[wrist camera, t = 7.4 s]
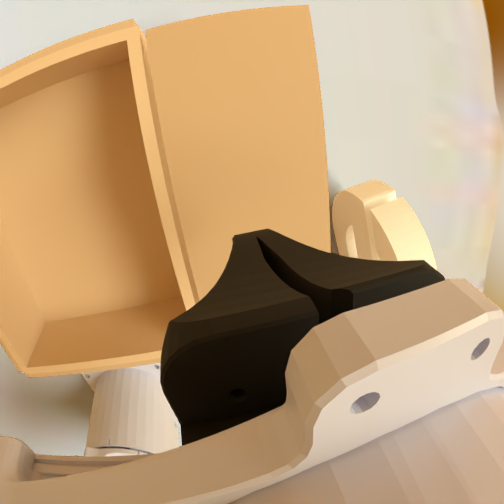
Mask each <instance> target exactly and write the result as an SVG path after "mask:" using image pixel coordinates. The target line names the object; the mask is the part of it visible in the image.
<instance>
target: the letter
mask: <svg viewBox="0 0 504 504" xmlns="http://www.w3.org/2000/svg"><path fill="white" fill-rule="evenodd" d="M332 223H333V229H334V233H335V238H336V243H337V247H338V252H339V255H341V256H346V257H352V258H359V259H367V260H380V261H410V260H425V261H426V262H427V263H428V264H429V265H431V266H432V267H433V268H434V269H436V270H437V267H436V263H435V259H434V255H433V252H432V249H431V246H430V243H429V241H428V238H427V236H426V234H425V231H424V229H423V227H422V225H421V223H420V222H419V220H418V218H417V216H416V215H415V213H414V212H413V210H412V209H411V207H410V206H409V204H408V203H407V202H406V201H405V199H404V198H403V197H400V198H398V199H396V193H395V190H394V189H393V188H392V187H390V186H389V185H387V184H385V183H383V182H381V181H378V180H371V181H368V182H365V183H362V184H359V185H356V186H354V187H351V188H348V189H345V190H343V191H340V192H338V193H337V194H336V196H335V198H334V200H333V205H332Z"/></svg>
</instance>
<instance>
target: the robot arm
mask: <svg viewBox="0 0 504 504" xmlns="http://www.w3.org/2000/svg"><path fill="white" fill-rule="evenodd" d="M232 242H233V245H232V250H231V253H230V257H229V260H228V262H227V264H226V266H225V269H224V271H223V273H222V275H221V276H220V278H219V280H218V281H217V283H216V284H215V285H214V287H213V288H212V289H211V290H210V291H209V292H208V294H207V295H206V296H205V297H203V298H202V299H201V300H200V301H199V302H198V303H196V304H195V305H194V306H193V307H191V308H190V309H189V310H187V311H185V312H184V313H182V314H181V315H179V316H177V317H176V318H174V319H172V320H171V321H170V322H169V324H168V327H167V330H166V334H165V338H164V342H163V347H162V352H161V362H160V363H155V364H148V365H142V366H135V367H128V368H121V369H114V370H106V371H98V372H89V373H81V374H82V376H83V377H84V379H85V380H86V382H87V383H88V385H89V386H90V388H91V389H92V391H93V392H94V398H93V404H92V410H91V415H90V422H89V428H88V435H87V442H86V448H85V453H84V456H77V455H75V456H53V455H38V454H34V452H33V451H32V450H31V449H30V448H29V447H28V446H27V445H26V444H25V443H23V442H22V441H20V440H18V439H16V438H12V437H3V436H0V504H504V313H503V311H502V310H501V309H500V308H499V307H498V306H497V305H496V304H495V303H493V302H492V301H491V300H490V299H488V298H487V297H486V296H485V295H484V294H483V293H482V292H480V291H479V290H478V289H477V288H475V287H474V286H473V285H472V284H471V283H469V282H468V281H467V280H466V279H447V280H445V278H444V276H443V275H442V274H440V273H439V272H438V271H437V270H436V269H434V268H433V267H432V266H431V265H429V264H428V263H427V262H426V261H425V260H410V261H380V260H367V259H359V258H352V257H346V256H341V255H337V254H333V253H329V252H325V251H322V250H319V249H316V248H313V247H310V246H307V245H305V244H302V243H300V242H297V241H295V240H293V239H291V238H288V237H286V236H284V235H282V234H280V233H278V232H275V231H273V230H271V229H263V230H258V231H252V232H247V233H243V234H238V235H234V237H233V238H232ZM155 365H158V366H155ZM178 421H179V423H180V424H181V436H182V446H180V447H179V432H178Z"/></svg>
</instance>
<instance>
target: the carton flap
mask: <svg viewBox="0 0 504 504" xmlns="http://www.w3.org/2000/svg"><path fill="white" fill-rule="evenodd" d="M145 32H146V39H147V47H148V54H149V61H150V67H151V74H152V80H153V87H154V93H155V99H156V105H157V110H158V116H159V122H160V127H161V133H162V138H163V143H164V148H165V153H166V159H167V164H168V168H169V173H170V178H171V183H172V188H173V192H174V197H175V201H176V206H177V210H178V215H179V219H180V224H181V228H182V232H183V236H184V241H185V245H186V249H187V253H188V257H189V261H190V265H191V269H192V273H193V277H194V281H195V285H196V288H197V292H198V296H199V300H201V299H202V298H203V297H205V296H206V295H207V294H208V292H209V291H210V290H211V289H212V288H213V287H214V285H215V284H216V283H217V281H218V280H219V278H220V276H221V275H222V273H223V271H224V269H225V266H226V264H227V262H228V260H229V257H230V253H231V250H232V245H233V242H232V238H233V237H234V235H238V234H243V233H247V232H252V231H258V230H263V229H271V230H273V231H275V232H278V233H280V234H282V235H284V236H286V237H288V238H291V239H293V240H295V241H297V242H300V243H302V244H305V245H307V246H310V247H313V248H316V249H319V250H322V251H325V252H329V253H331V241H330V210H329V189H328V171H327V156H326V143H325V131H324V120H323V110H322V100H321V91H320V82H319V73H318V66H317V58H316V51H315V43H314V37H313V30H312V24H311V17H310V11H309V5H301V6H281V7H268V8H258V9H249V10H240V11H233V12H226V13H220V14H214V15H208V16H203V17H198V18H193V19H188V20H184V21H179V22H175V23H171V24H167V25H163V26H159V27H155V28H151V29H148V30H145Z"/></svg>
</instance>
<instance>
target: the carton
mask: <svg viewBox="0 0 504 504" xmlns="http://www.w3.org/2000/svg"><path fill="white" fill-rule="evenodd" d="M199 301H200V300H199V296H198V292H197V288H196V285H195V281H194V277H193V273H192V269H191V265H190V261H189V257H188V253H187V249H186V245H185V241H184V236H183V232H182V228H181V224H180V219H179V215H178V210H177V206H176V201H175V197H174V192H173V188H172V183H171V178H170V173H169V168H168V164H167V159H166V153H165V148H164V143H163V138H162V133H161V127H160V122H159V116H158V110H157V105H156V99H155V93H154V87H153V80H152V74H151V67H150V61H149V54H148V47H147V39H146V37H145V35H144V34H143V32H142V30H141V29H140V27H139V25H137V24H136V23H135V21H134V19H131V20H127V21H123V22H120V23H116V24H113V25H109V26H106V27H103V28H99V29H96V30H93V31H90V32H87V33H84V34H81V35H78V36H76V37H73V38H70V39H68V40H65V41H62V42H60V43H57V44H55V45H52V46H50V47H48V48H45V49H43V50H41V51H38V52H36V53H34V54H32V55H29V56H27V57H25V58H23V59H21V60H19V61H17V62H15V63H13V64H11V65H9V66H7V67H5V68H3V69H1V70H0V344H1V345H2V347H3V348H4V350H5V351H6V353H7V355H8V356H9V358H10V359H11V361H12V362H13V364H14V365H15V366H16V368H17V369H18V371H19V372H24V374H27V375H28V376H29V378H33V377H47V376H59V375H70V374H80V373H89V372H98V371H106V370H114V369H121V368H128V367H135V366H142V365H148V364H155V363H160V362H161V352H162V347H163V342H164V338H165V334H166V330H167V327H168V324H169V322H170V321H171V320H172V319H174V318H176V317H177V316H179V315H181V314H182V313H184V312H185V311H187V310H189V309H190V308H191V307H193V306H194V305H195V304H196V303H198V302H199Z"/></svg>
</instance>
